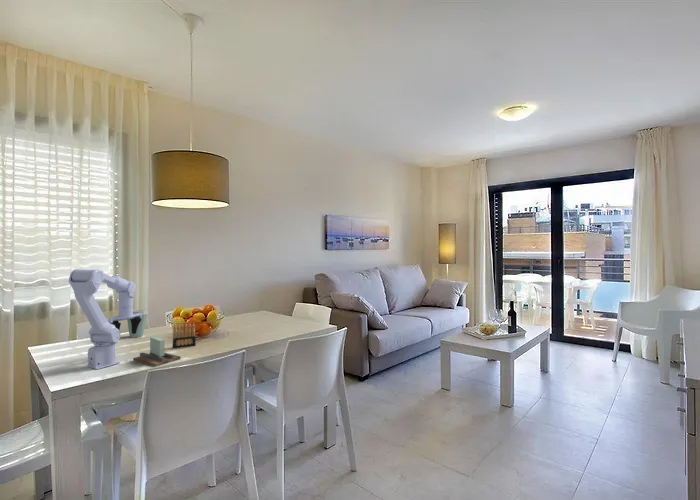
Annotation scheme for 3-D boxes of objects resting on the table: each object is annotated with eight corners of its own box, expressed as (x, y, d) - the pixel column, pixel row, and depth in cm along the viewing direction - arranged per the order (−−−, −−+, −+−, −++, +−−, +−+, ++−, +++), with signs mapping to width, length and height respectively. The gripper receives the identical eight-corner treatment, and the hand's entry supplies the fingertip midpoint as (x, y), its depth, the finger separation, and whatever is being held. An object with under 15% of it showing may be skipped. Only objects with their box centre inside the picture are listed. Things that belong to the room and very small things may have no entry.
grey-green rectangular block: (159, 356, 160) (159, 341, 160) (150, 352, 166) (150, 337, 166) (164, 355, 161) (164, 340, 161) (154, 351, 167) (154, 336, 167)
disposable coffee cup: (124, 336, 205) (124, 309, 204) (145, 333, 212) (146, 307, 211) (127, 340, 197) (127, 312, 196) (149, 336, 203) (150, 310, 203)
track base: (155, 366, 155) (155, 360, 155) (133, 360, 162) (133, 354, 162) (180, 359, 165) (180, 353, 165) (158, 353, 173) (158, 348, 173)
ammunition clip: (172, 348, 182) (172, 324, 181) (172, 347, 183) (172, 324, 183) (195, 345, 187) (195, 322, 187) (195, 345, 189) (195, 322, 188)
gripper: (136, 303, 178) (135, 331, 178) (104, 307, 165) (104, 337, 165) (144, 304, 175) (144, 332, 175) (113, 309, 162) (113, 339, 162)
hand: (125, 335), depth 170 cm, fingers open, 7 cm apart
